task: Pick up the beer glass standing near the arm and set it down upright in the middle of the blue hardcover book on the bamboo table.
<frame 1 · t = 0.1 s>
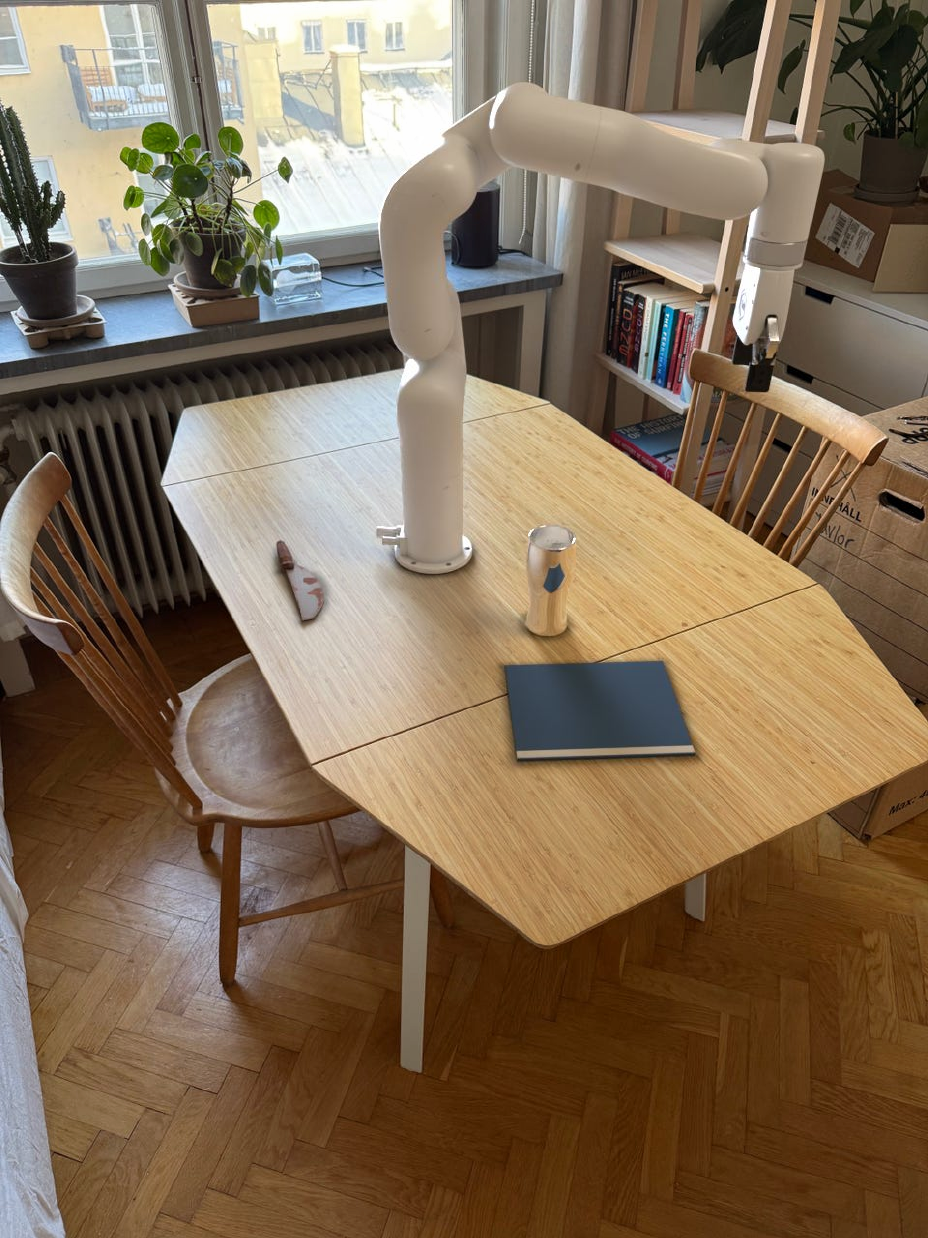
hand: (749, 377, 129), 31 cm above the table, tool pointing down, fingers open, 9 cm apart
blue hardcover book: (594, 709, 120), on the table
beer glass: (546, 625, 135), on the table
kitchen knife: (302, 582, 143), on the table
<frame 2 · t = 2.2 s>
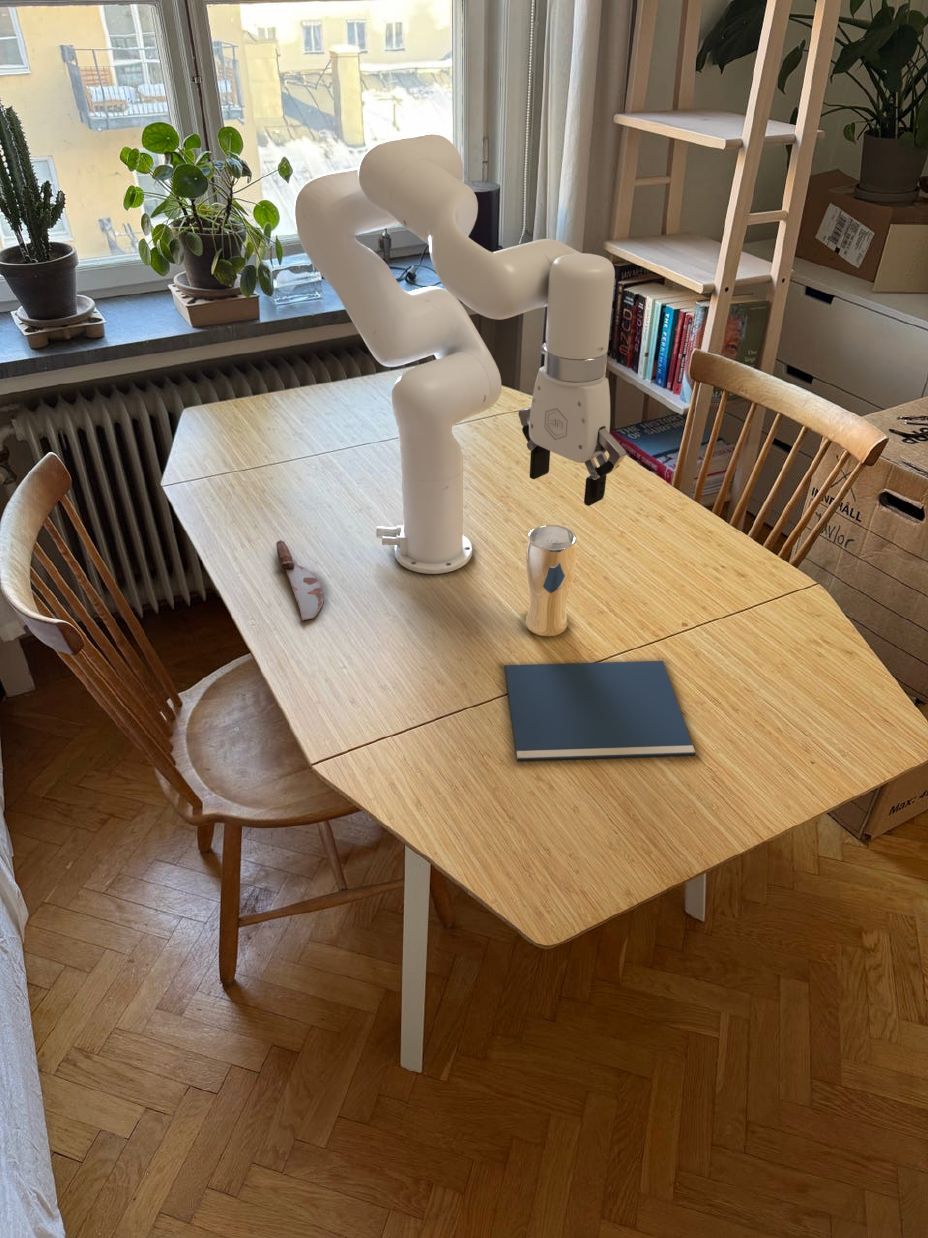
hand: (565, 488, 122), 22 cm above the table, tool pointing down, fingers open, 9 cm apart
nothing on the table moved.
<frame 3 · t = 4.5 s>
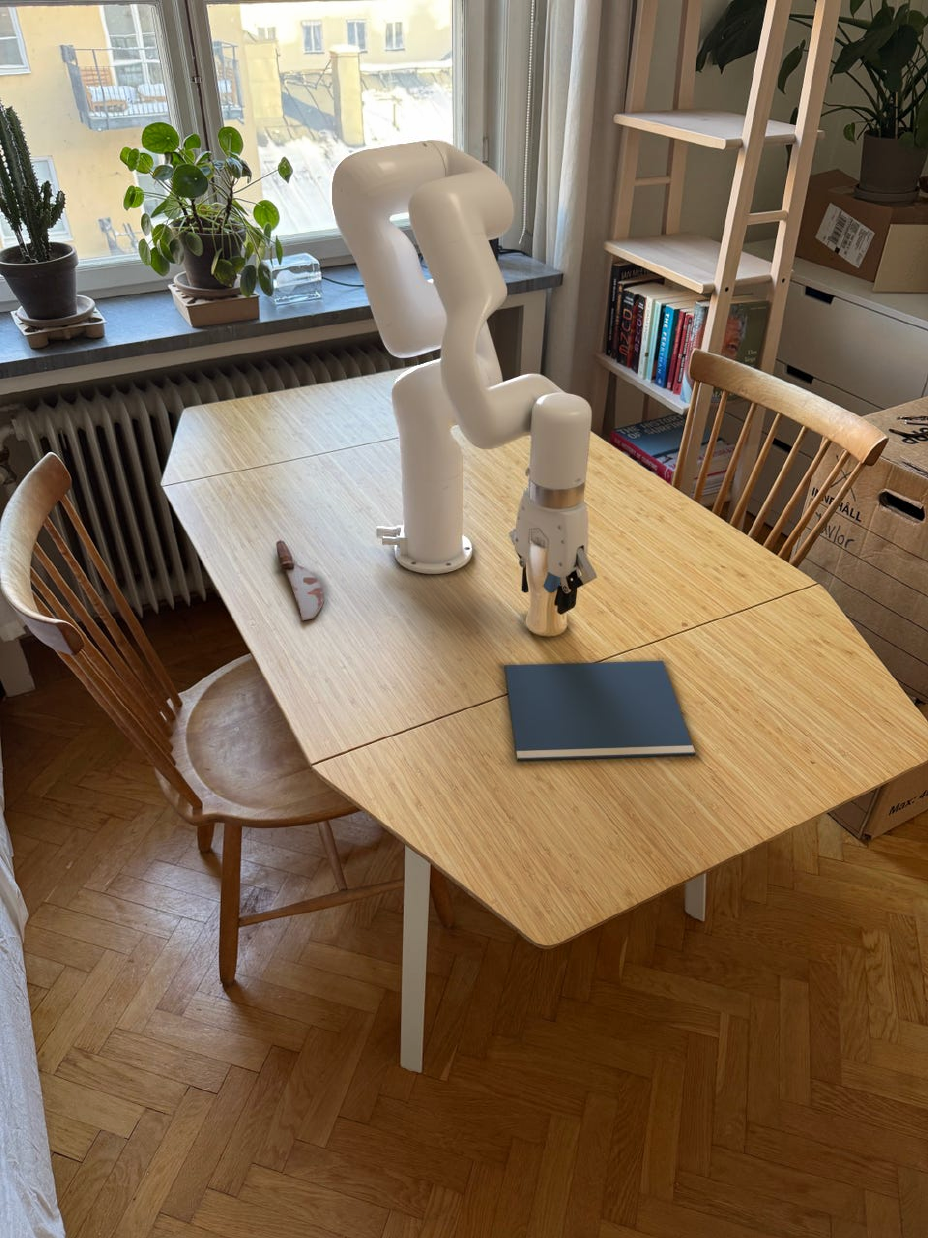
hand: (548, 598, 132), 5 cm above the table, tool pointing down, fingers closed on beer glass, 6 cm apart
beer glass: (546, 625, 135), on the table, touching gripper
everything else where it was.
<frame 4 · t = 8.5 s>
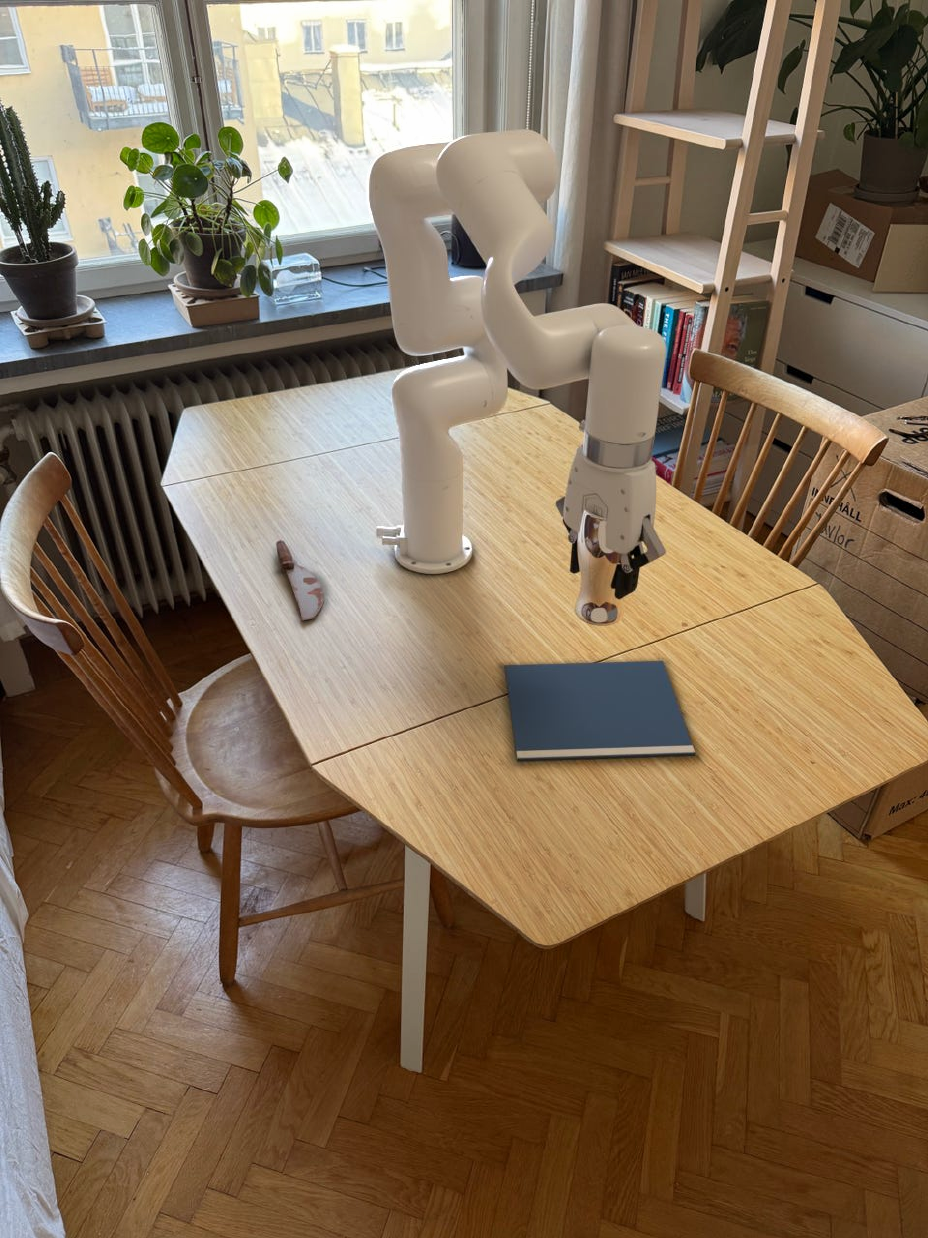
hand: (602, 580, 110), 19 cm above the table, tool pointing down, fingers closed on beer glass, 6 cm apart
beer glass: (598, 612, 113), point 14 cm above the table, touching gripper
everything else where it was.
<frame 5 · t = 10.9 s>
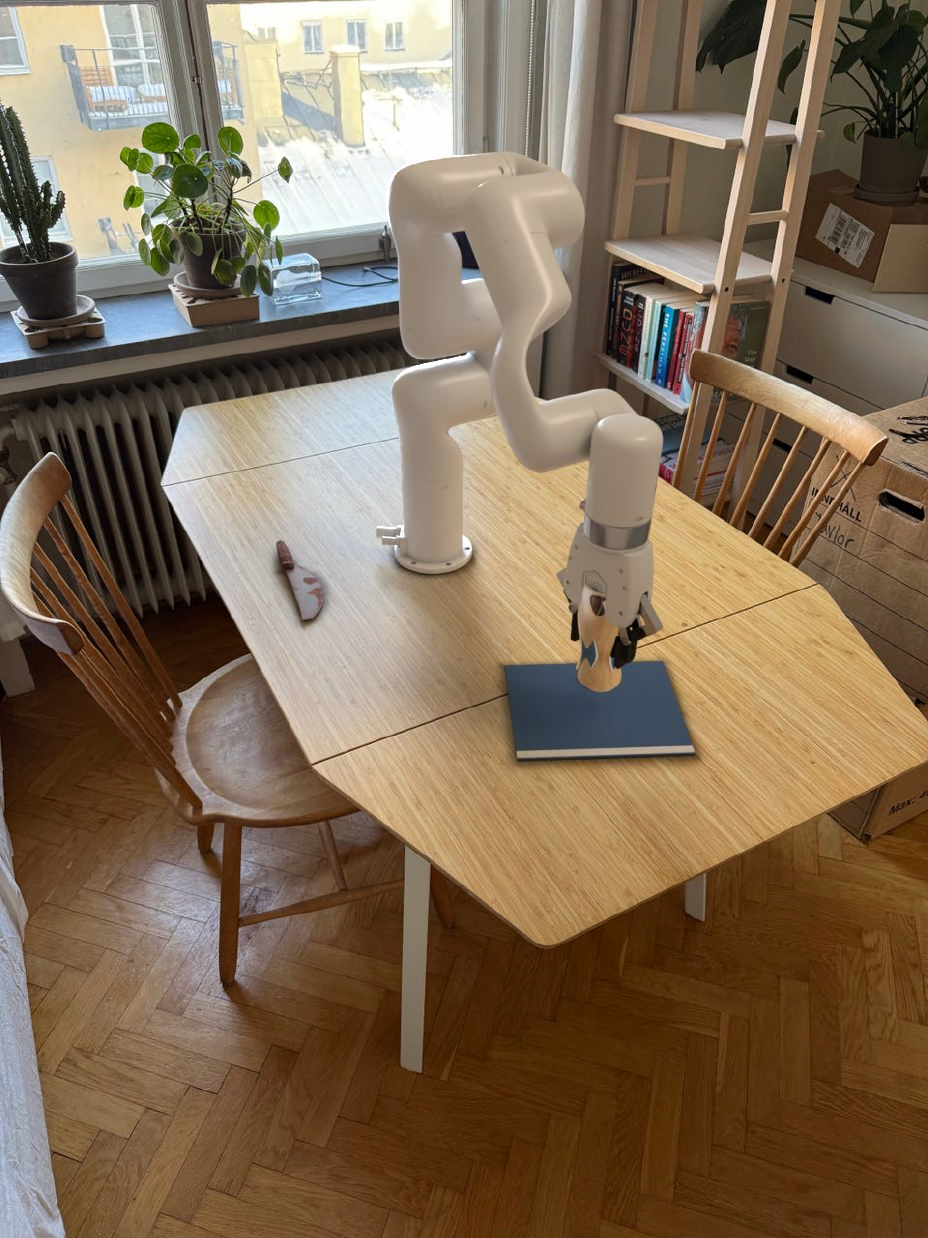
hand: (601, 648, 114), 10 cm above the table, tool pointing down, fingers closed on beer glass, 6 cm apart
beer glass: (598, 678, 117), point 5 cm above the table, touching gripper
everything else where it was.
when the fingers open (5 cm above the table, at t = 12.8 s): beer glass stays where it is, resting on blue hardcover book.
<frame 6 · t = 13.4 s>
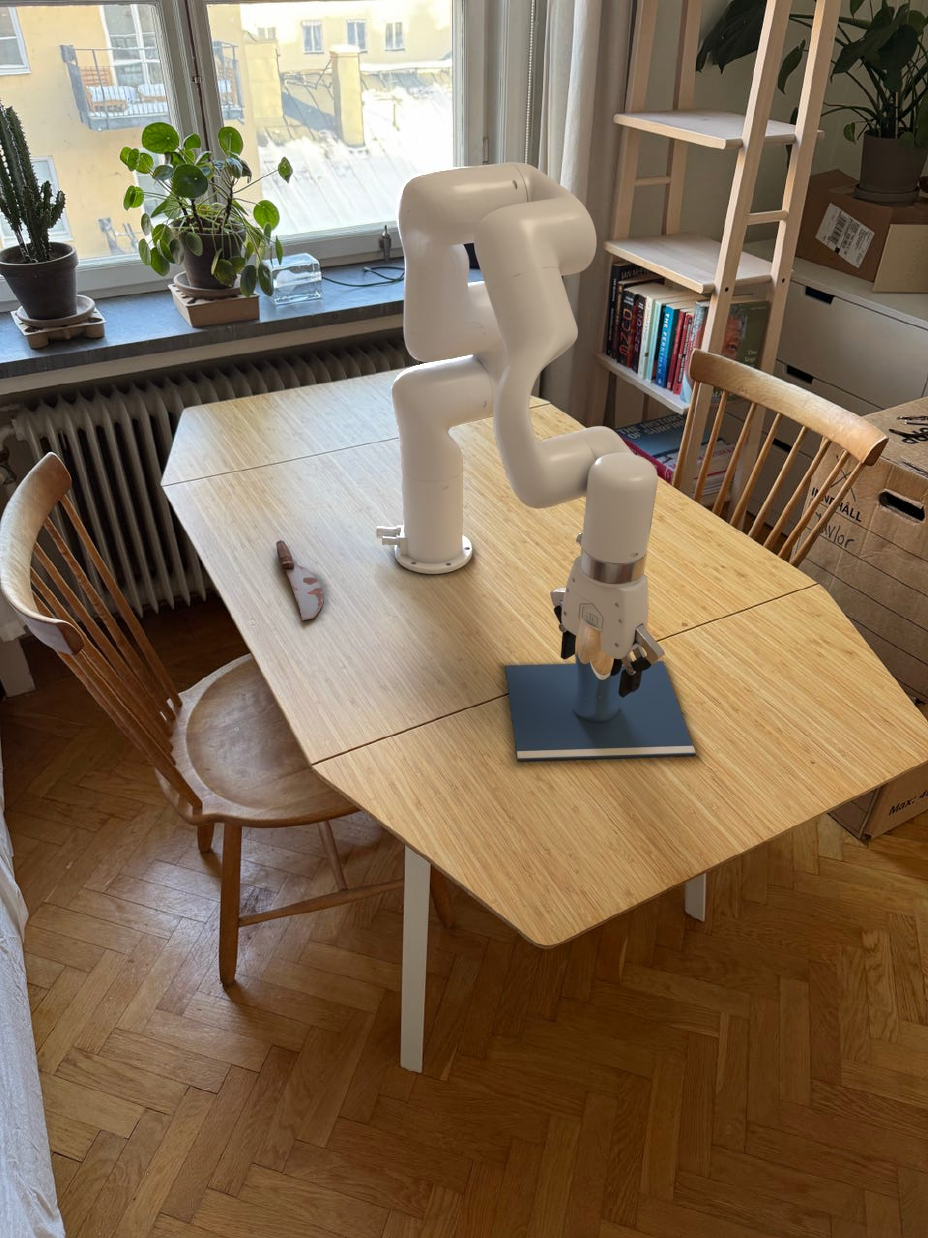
hand: (598, 672, 117), 6 cm above the table, tool pointing down, fingers open, 9 cm apart
blue hardcover book: (595, 709, 120), on the table, touching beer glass
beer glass: (595, 707, 120), resting on blue hardcover book
everything else where it was.
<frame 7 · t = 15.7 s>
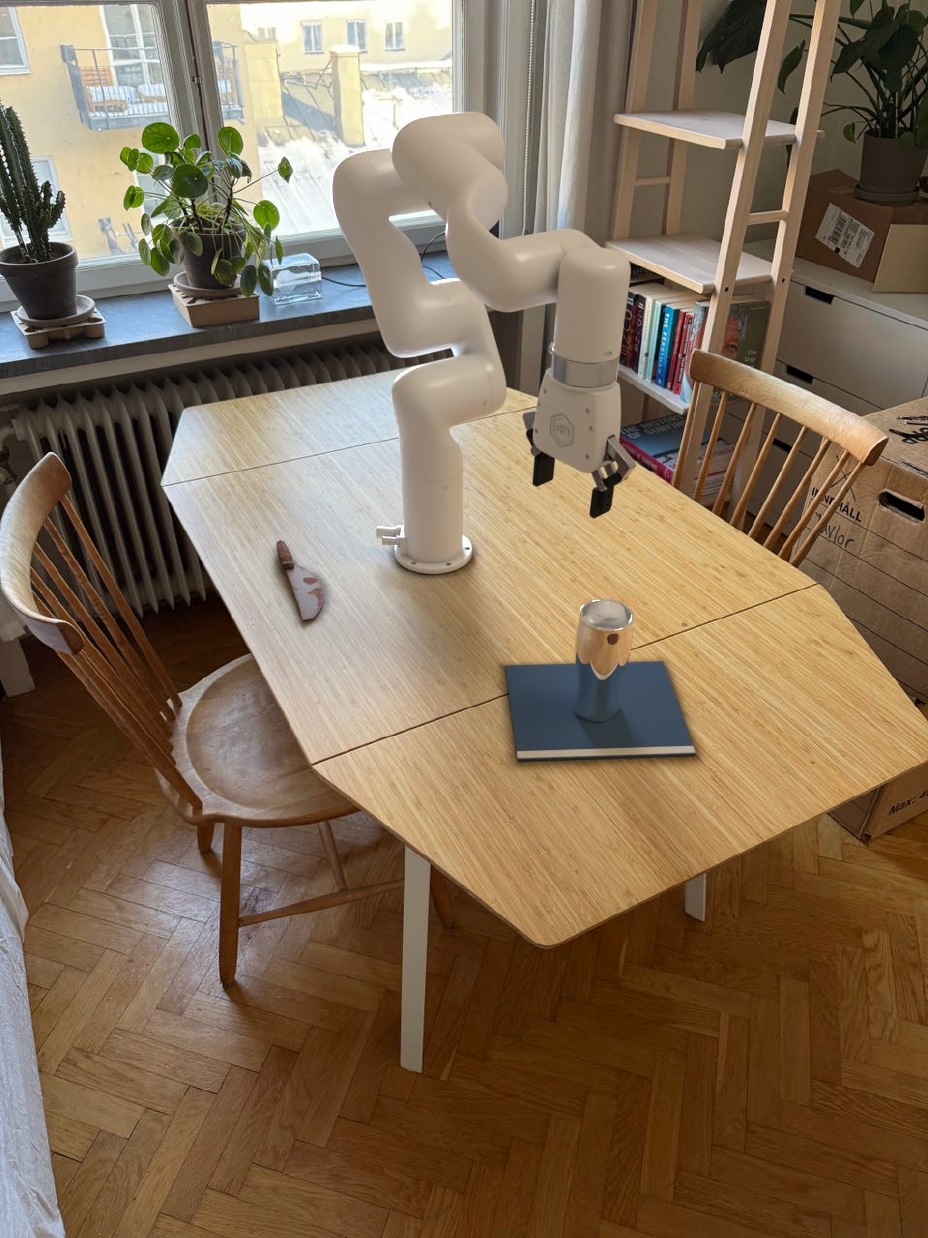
hand: (570, 497, 114), 25 cm above the table, tool pointing down, fingers open, 9 cm apart
nothing on the table moved.
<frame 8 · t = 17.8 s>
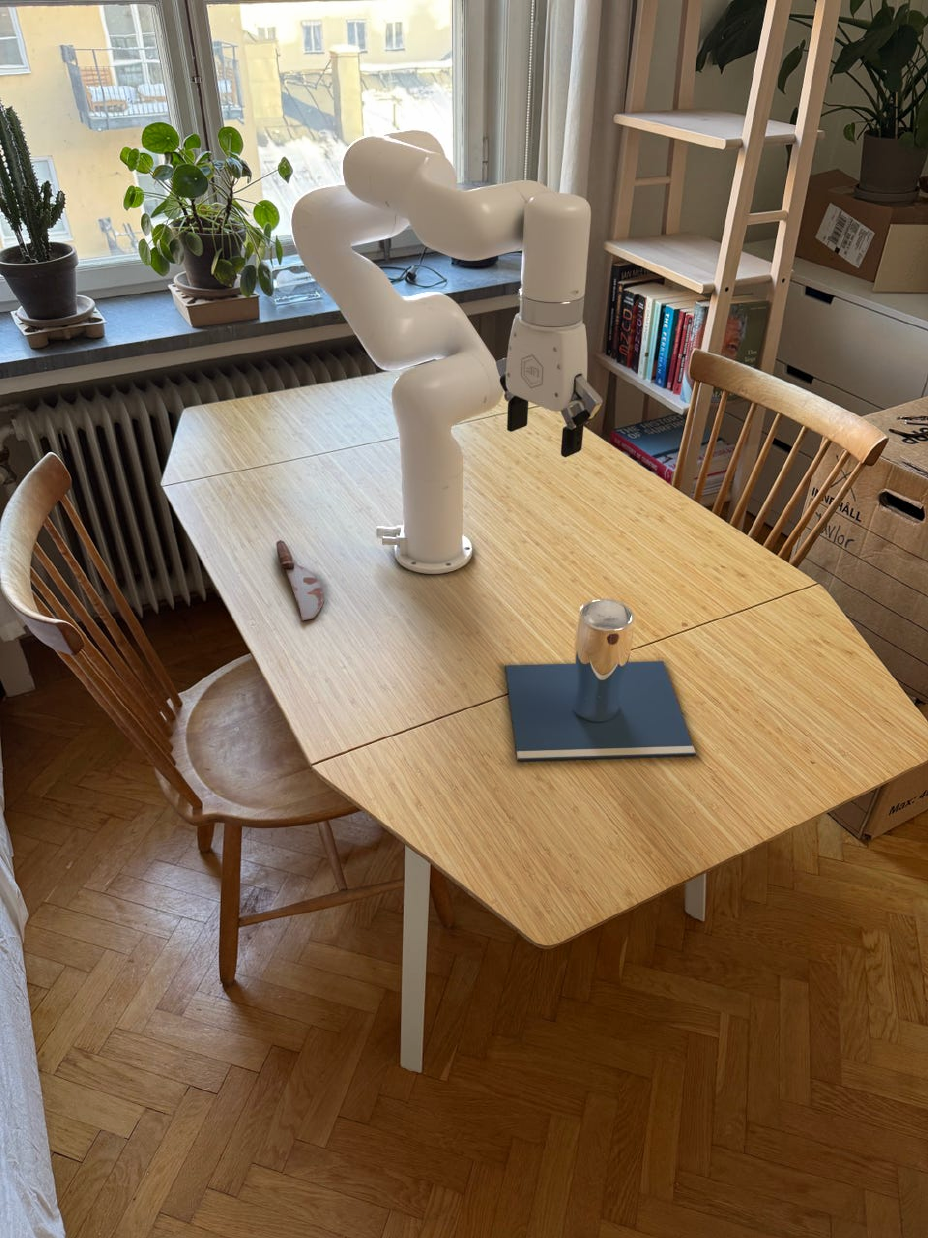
hand: (543, 440, 120), 28 cm above the table, tool pointing down, fingers open, 9 cm apart
nothing on the table moved.
at the end: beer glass inside the target area on the blue hardcover book (0.1 cm from its centre), point 0.2 cm above the blue hardcover book's base; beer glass tilted 0°; the gripper is holding nothing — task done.
